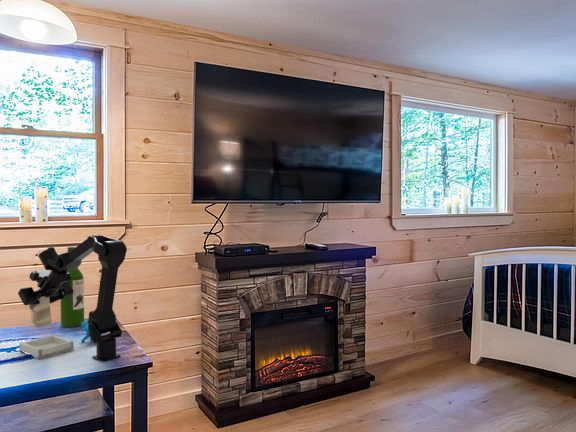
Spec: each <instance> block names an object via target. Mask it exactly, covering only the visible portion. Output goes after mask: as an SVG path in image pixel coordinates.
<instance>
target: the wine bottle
mask: <svg viewBox="0 0 576 432" xmlns="http://www.w3.org/2000/svg"><path fill="white" fill-rule="evenodd" d="M75 247H76V246H68V247H67V252H69V251H71V250H73V249H74V248H75ZM68 271H69V273H70V276H71V279H72V280H70V281H68V282H69V283H70V285H71V287H72V288H73V290H74V293H73V295H72V296H71V297H66V298H65V297H64V298H63V299H61V300H60V326H61V327H63V328H75V327H74V326H76V327H80V326H79V325H81V323H82V322H85V291H84V290H85V286H84V284H85V281H84V280H85V279H84V275H83V273H82V272H81V270H80V269H79V267H78V268H77V269H73V270H68ZM63 296H64V292H63Z"/></svg>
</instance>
